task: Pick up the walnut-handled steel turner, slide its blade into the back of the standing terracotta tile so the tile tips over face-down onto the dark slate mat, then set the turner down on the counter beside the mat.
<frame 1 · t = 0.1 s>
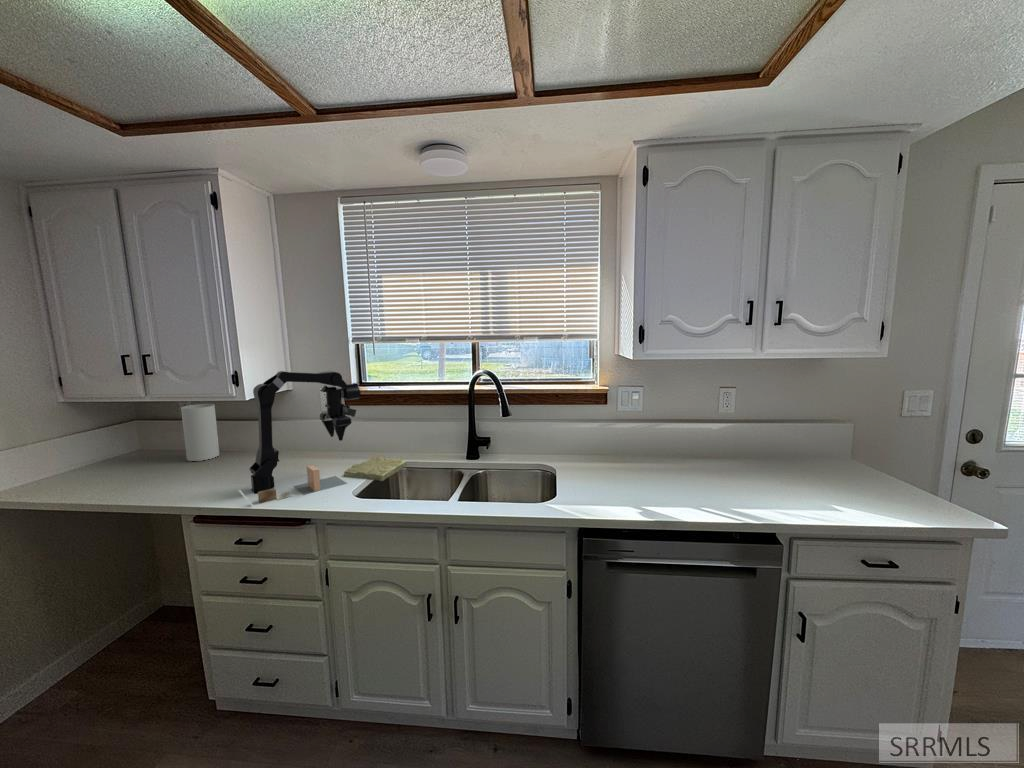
hand: (336, 438, 172), 15 cm above the worktop, tool pointing down, fingers open, 9 cm apart
decorative tile: (375, 472, 175), on the worktop
slate mat: (320, 486, 158), on the worktop
cylinder vase: (203, 458, 196), on the worktop
turner: (267, 501, 144), on the worktop
terracotta tile: (314, 488, 155), resting on slate mat
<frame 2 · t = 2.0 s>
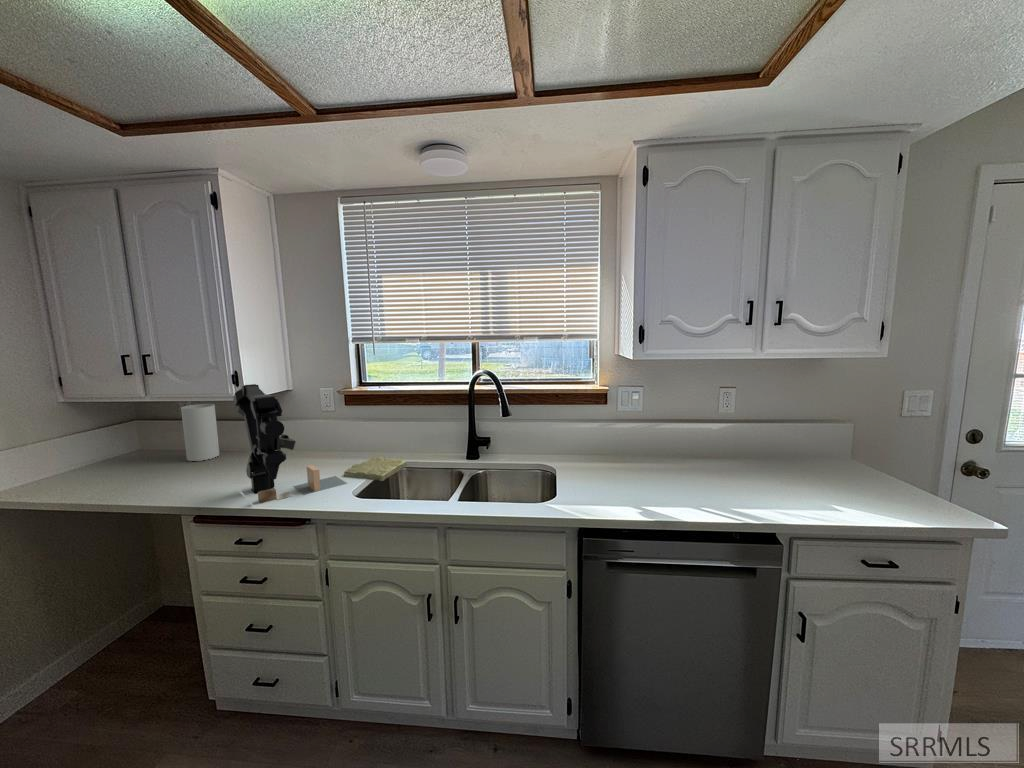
hand: (270, 476, 144), 9 cm above the worktop, tool pointing down, fingers open, 9 cm apart
nothing on the worktop moved.
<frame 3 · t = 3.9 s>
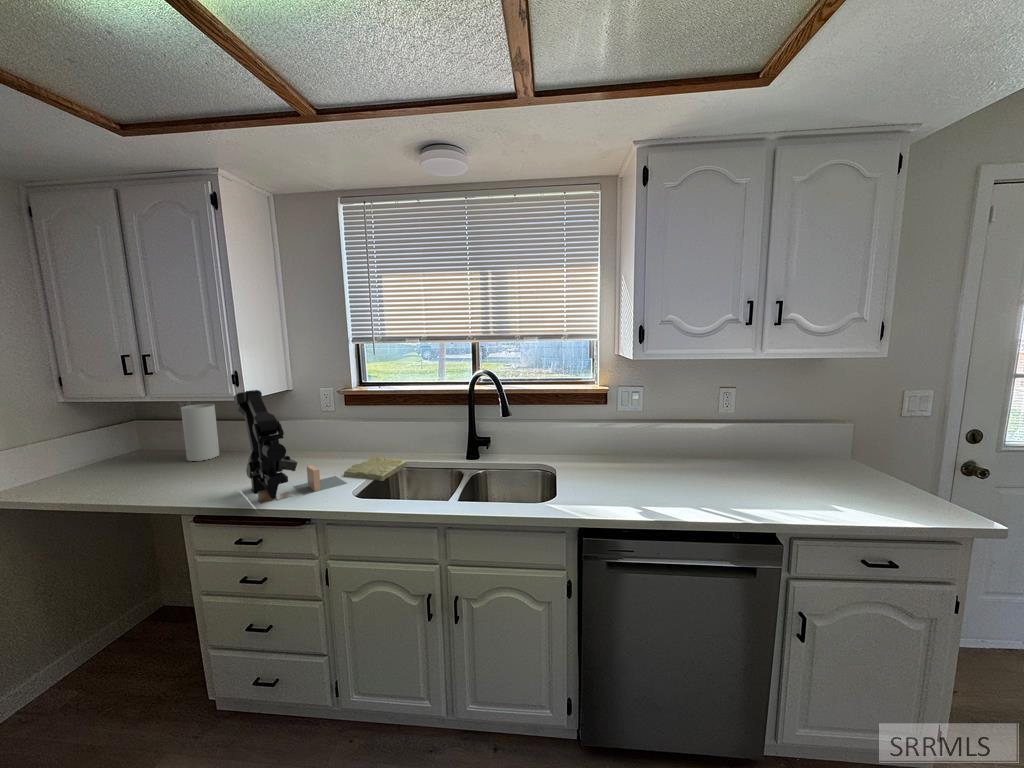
hand: (272, 497, 145), 1 cm above the worktop, tool pointing down, fingers closed on turner, 2 cm apart
turner: (267, 501, 144), on the worktop, touching gripper
everything else where it was.
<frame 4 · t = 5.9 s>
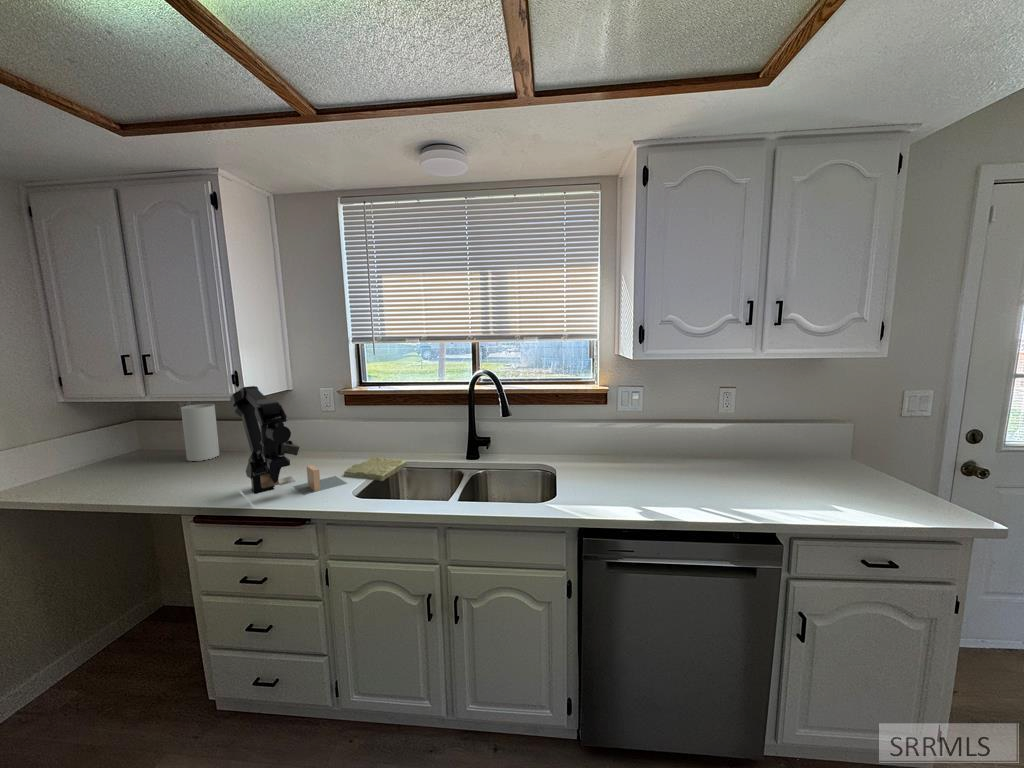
hand: (274, 481, 145), 7 cm above the worktop, tool pointing down, fingers closed on turner, 2 cm apart
turner: (270, 485, 144), point 6 cm above the worktop, touching gripper
everything else where it was.
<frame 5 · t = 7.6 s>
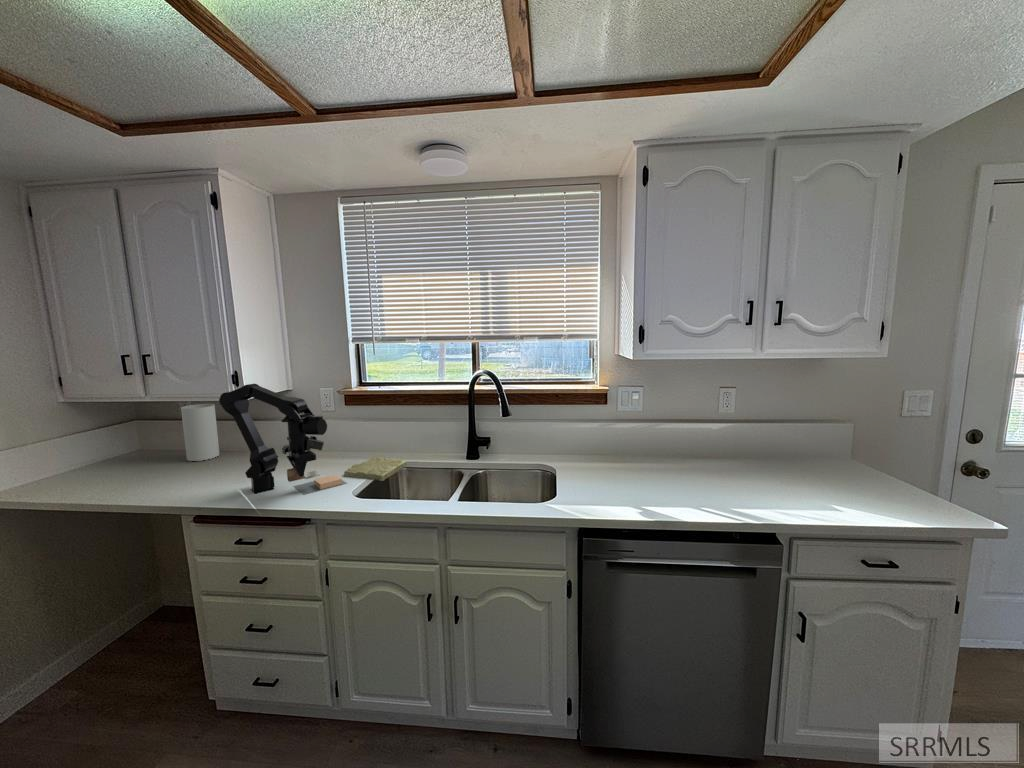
hand: (300, 475, 151), 7 cm above the worktop, tool pointing down, fingers closed on turner, 2 cm apart
turner: (296, 479, 150), point 6 cm above the worktop, touching gripper
terracotta tile: (317, 484, 156), point 2 cm above the worktop, tilted 90°, touching slate mat
everything else where it was.
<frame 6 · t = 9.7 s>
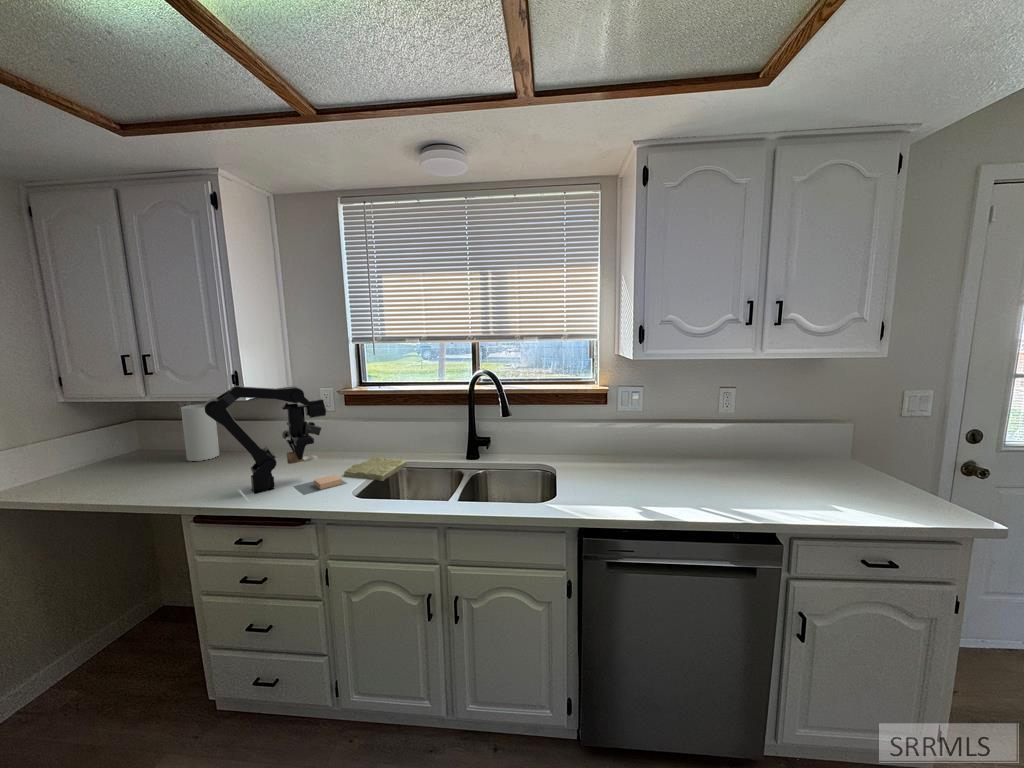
hand: (299, 458, 161), 10 cm above the worktop, tool pointing down, fingers closed on turner, 2 cm apart
turner: (295, 461, 160), point 9 cm above the worktop, touching gripper
everything else where it was.
when the fingers open (2 cm above the worktop, at t = 11.5 s): turner drops 2 cm, on the worktop.
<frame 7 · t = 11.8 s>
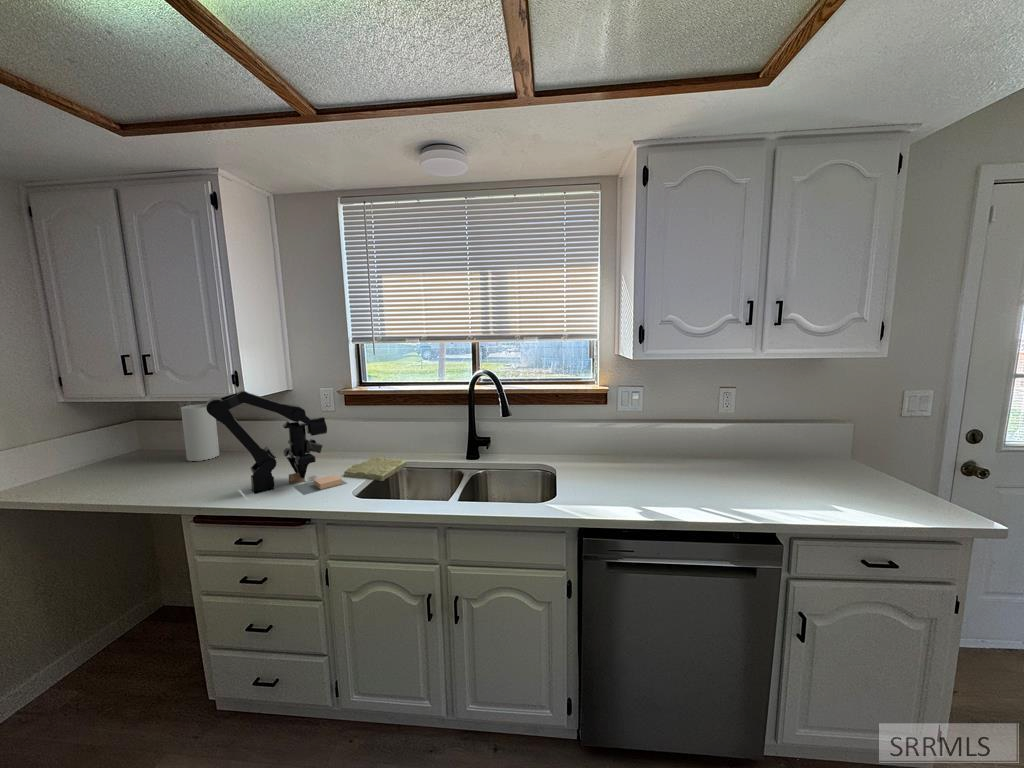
hand: (300, 476, 162), 2 cm above the worktop, tool pointing down, fingers open, 5 cm apart
turner: (297, 483, 161), on the worktop
everything else where it was.
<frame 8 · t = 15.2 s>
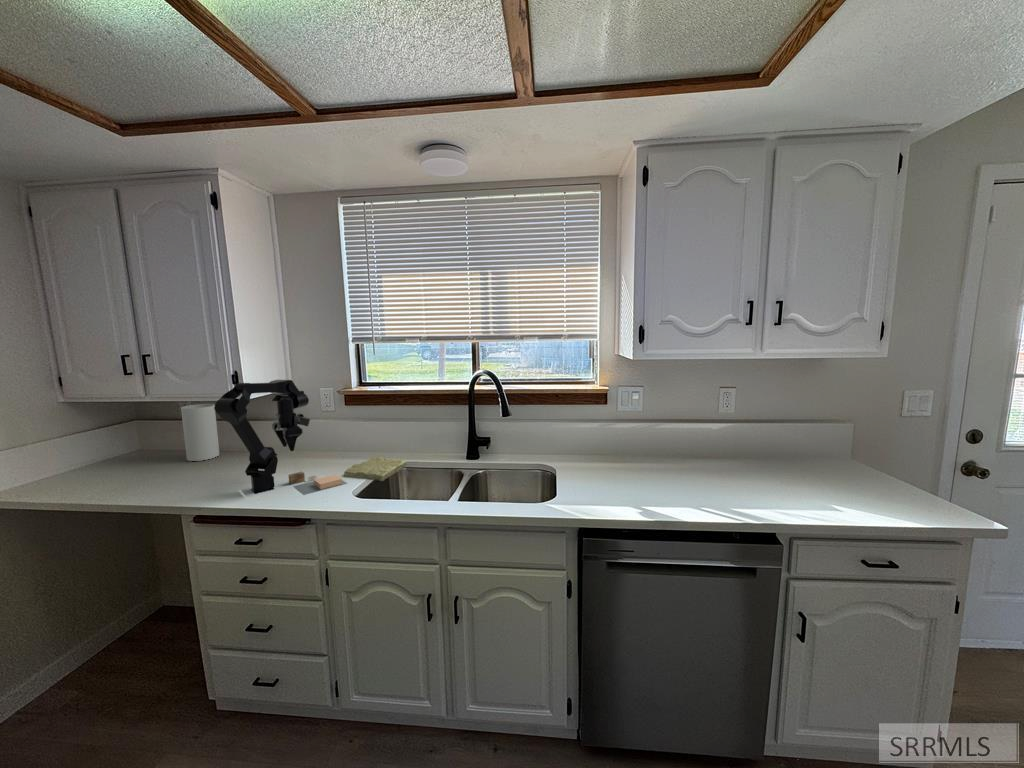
hand: (288, 448, 167), 12 cm above the worktop, tool pointing down, fingers open, 9 cm apart
nothing on the worktop moved.
at the end: terracotta tile tilted 90°; terracotta tile inside the target area (1.9 cm from its centre), point 1.7 cm above the worktop; turner inside the target area (0.5 cm from its centre), on the worktop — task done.
